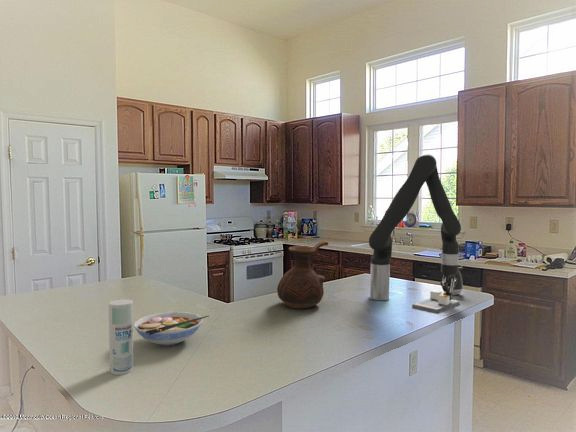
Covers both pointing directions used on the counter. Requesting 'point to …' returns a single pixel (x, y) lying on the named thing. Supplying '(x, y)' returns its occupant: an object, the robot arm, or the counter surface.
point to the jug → (302, 280)
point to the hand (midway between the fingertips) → (448, 300)
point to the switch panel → (434, 305)
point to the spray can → (121, 336)
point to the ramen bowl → (168, 327)
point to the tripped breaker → (443, 299)
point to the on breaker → (434, 294)
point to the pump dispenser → (458, 283)
